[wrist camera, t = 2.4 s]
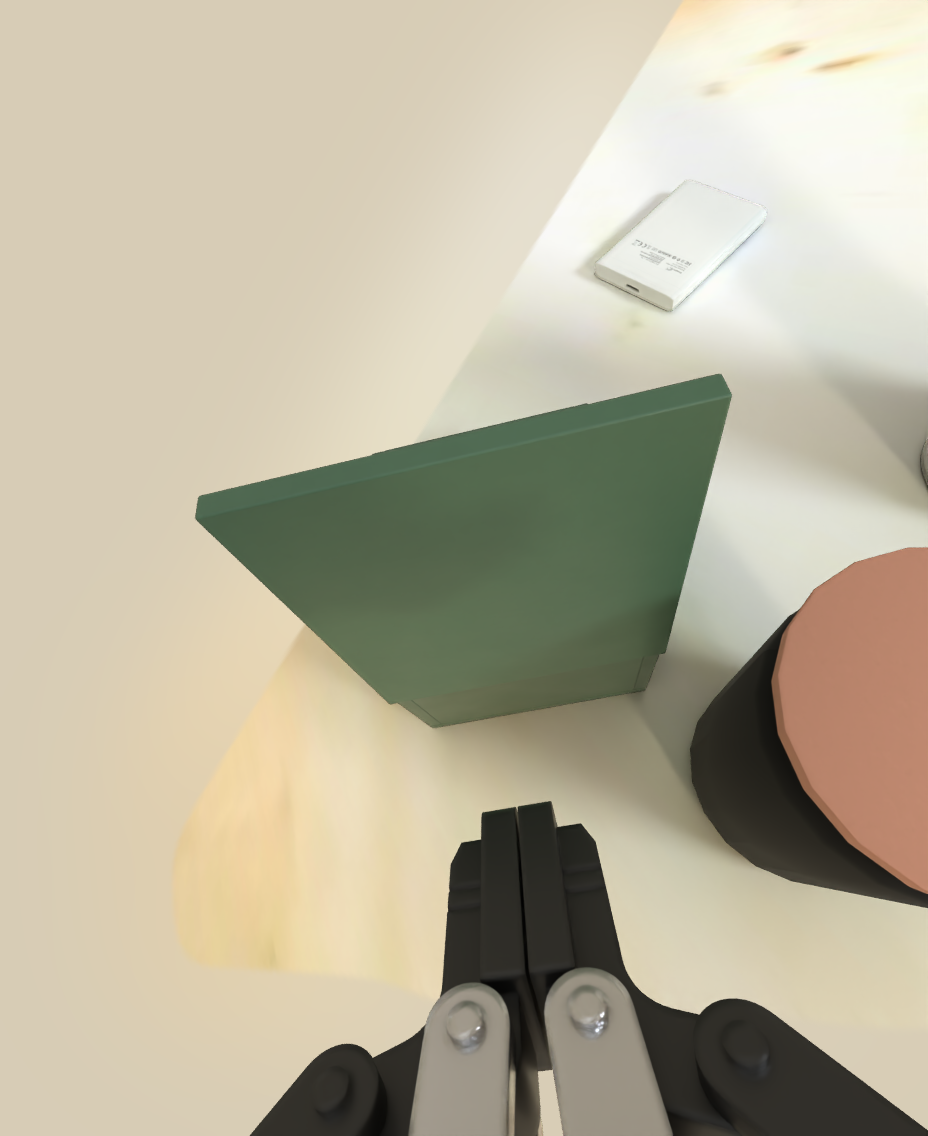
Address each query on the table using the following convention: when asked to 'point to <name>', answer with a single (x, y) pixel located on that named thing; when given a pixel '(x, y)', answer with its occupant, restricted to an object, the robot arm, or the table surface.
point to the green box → (532, 683)
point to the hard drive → (680, 244)
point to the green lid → (491, 542)
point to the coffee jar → (831, 738)
